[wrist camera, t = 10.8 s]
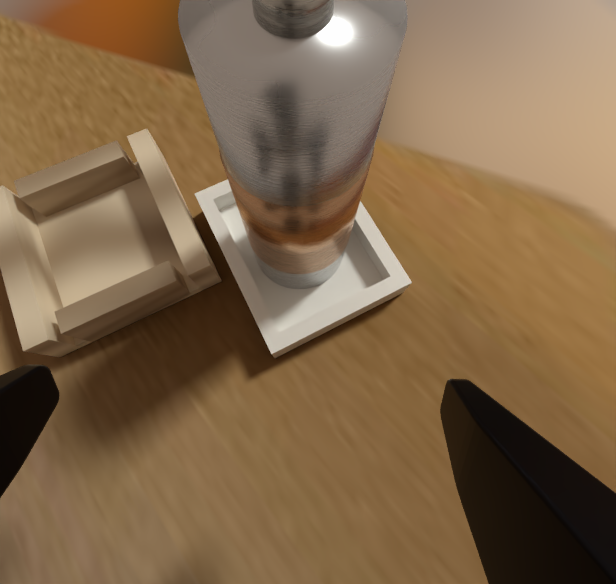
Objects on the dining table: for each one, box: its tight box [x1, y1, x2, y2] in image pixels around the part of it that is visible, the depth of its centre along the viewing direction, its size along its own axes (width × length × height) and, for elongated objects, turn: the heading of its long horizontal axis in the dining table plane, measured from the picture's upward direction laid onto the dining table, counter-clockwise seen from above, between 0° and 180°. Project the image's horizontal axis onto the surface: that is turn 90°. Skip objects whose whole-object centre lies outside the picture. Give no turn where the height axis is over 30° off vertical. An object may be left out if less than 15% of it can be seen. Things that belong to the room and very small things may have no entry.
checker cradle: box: [0, 129, 222, 357], centre depth 19 cm, size 9×9×2 cm
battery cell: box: [178, 0, 407, 289], centre depth 13 cm, size 5×5×13 cm
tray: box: [195, 180, 412, 358], centre depth 20 cm, size 10×8×2 cm
